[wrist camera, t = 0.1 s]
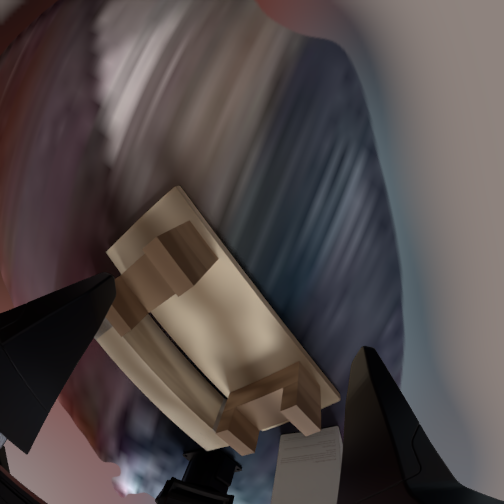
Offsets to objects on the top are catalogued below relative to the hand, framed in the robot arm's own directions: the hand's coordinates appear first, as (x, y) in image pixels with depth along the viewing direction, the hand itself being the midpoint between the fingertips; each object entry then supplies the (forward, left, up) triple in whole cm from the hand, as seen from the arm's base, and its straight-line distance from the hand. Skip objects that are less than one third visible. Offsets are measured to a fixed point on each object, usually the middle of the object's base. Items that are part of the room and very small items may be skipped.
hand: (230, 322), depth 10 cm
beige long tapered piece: (-9, -5, -15) cm, 19 cm away
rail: (-17, -5, -15) cm, 24 cm away
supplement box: (-11, -25, -16) cm, 32 cm away
